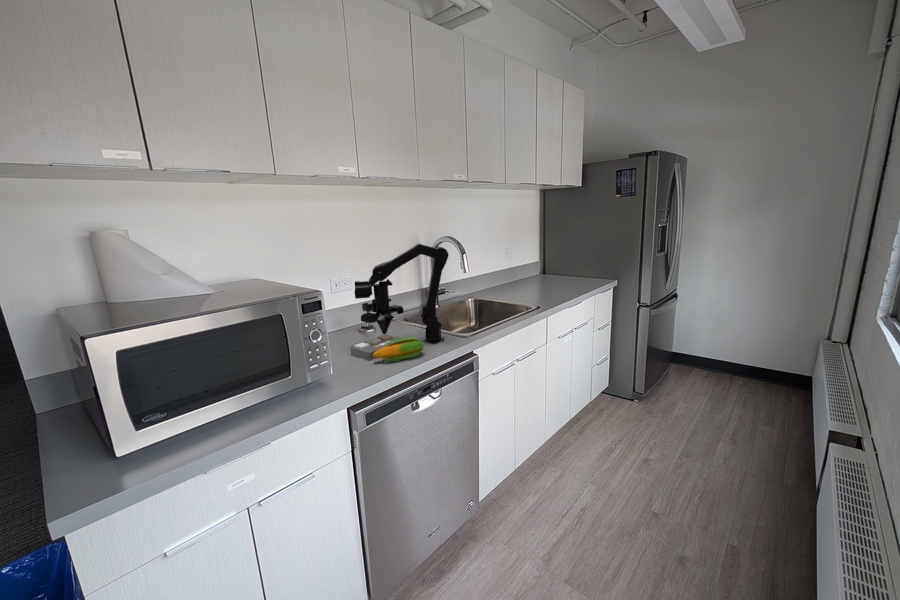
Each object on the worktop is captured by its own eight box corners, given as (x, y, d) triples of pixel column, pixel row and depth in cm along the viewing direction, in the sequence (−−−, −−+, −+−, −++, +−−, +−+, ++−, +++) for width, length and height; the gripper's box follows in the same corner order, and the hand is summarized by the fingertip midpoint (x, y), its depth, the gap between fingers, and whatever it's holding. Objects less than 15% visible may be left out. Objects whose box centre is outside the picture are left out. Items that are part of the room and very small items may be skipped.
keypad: (384, 341, 170) (384, 334, 169) (403, 346, 163) (403, 338, 162) (351, 354, 156) (350, 346, 155) (370, 360, 149) (369, 352, 149)
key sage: (374, 346, 164) (374, 338, 163) (382, 348, 161) (381, 339, 160) (367, 349, 160) (366, 340, 160) (374, 351, 158) (373, 342, 157)
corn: (426, 336, 150) (375, 347, 141) (428, 356, 151) (377, 367, 142) (419, 333, 156) (369, 342, 147) (420, 351, 158) (371, 362, 149)
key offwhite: (363, 350, 159) (362, 342, 158) (370, 352, 156) (369, 344, 156) (355, 353, 156) (354, 345, 155) (362, 355, 153) (361, 347, 152)
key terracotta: (385, 342, 168) (384, 334, 167) (392, 343, 166) (392, 335, 165) (378, 344, 165) (377, 336, 164) (385, 346, 162) (384, 338, 162)
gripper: (384, 290, 173) (387, 325, 176) (349, 299, 158) (353, 336, 162) (403, 293, 166) (405, 329, 170) (368, 302, 152) (372, 341, 155)
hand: (384, 333), depth 164 cm, fingers closed
